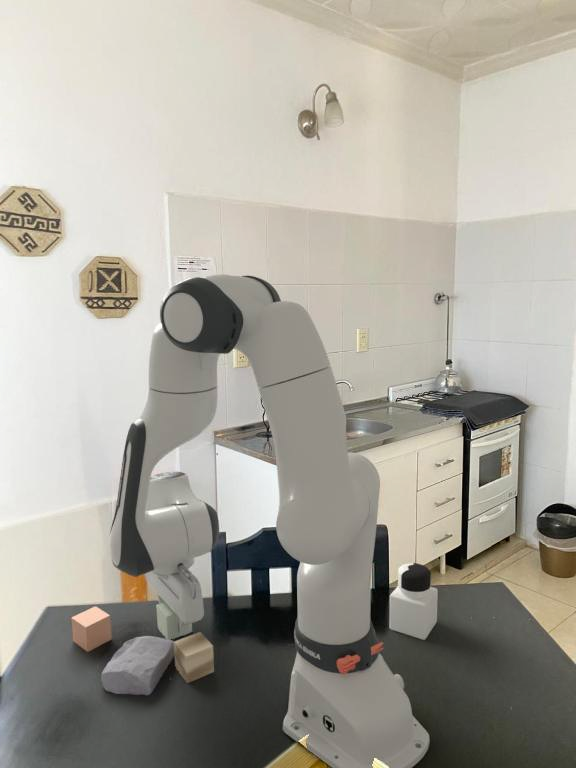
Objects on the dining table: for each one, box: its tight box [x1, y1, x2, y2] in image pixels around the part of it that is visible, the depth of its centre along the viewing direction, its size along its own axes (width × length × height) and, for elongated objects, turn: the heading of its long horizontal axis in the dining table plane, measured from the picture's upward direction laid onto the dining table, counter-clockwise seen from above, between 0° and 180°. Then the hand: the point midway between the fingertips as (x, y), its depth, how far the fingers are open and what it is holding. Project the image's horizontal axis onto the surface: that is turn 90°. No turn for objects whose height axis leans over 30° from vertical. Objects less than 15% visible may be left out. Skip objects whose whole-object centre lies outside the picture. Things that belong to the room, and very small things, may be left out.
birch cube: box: [174, 631, 215, 684], centre depth 99 cm, size 5×5×5 cm
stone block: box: [100, 635, 175, 696], centre depth 99 cm, size 12×5×10 cm
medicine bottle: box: [389, 562, 439, 641], centre depth 110 cm, size 7×7×12 cm
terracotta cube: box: [70, 606, 113, 653], centre depth 108 cm, size 5×5×5 cm
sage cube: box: [155, 602, 193, 640], centre depth 111 cm, size 5×5×5 cm
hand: (174, 622), depth 111 cm, fingers open, 7 cm apart
